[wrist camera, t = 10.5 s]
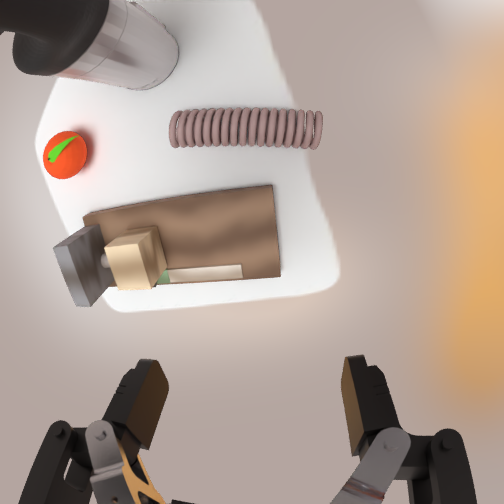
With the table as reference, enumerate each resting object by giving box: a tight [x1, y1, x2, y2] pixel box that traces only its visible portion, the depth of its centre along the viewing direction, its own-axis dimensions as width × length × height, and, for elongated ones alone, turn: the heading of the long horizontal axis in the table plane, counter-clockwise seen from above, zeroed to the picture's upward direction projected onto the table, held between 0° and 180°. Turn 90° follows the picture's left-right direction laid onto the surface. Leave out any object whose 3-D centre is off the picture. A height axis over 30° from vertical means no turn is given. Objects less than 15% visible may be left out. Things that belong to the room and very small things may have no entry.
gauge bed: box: [53, 185, 281, 307], centre depth 33 cm, size 12×28×10 cm, turn 97°
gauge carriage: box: [101, 226, 167, 290], centre depth 34 cm, size 8×8×6 cm
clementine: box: [43, 131, 87, 179], centre depth 30 cm, size 8×7×7 cm
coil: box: [169, 108, 323, 149], centre depth 29 cm, size 5×5×18 cm
